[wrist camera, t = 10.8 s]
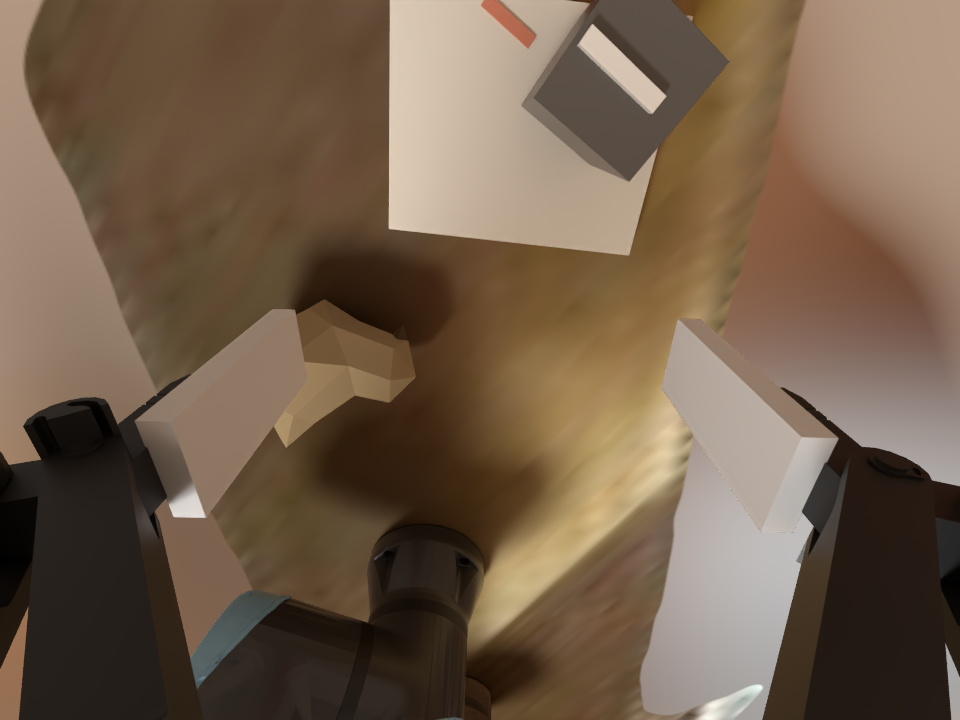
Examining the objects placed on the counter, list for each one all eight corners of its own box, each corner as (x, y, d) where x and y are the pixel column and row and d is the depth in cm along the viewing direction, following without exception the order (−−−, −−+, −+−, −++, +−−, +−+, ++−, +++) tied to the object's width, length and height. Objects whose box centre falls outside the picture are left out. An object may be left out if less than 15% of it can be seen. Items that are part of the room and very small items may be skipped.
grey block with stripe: (653, 81, 31) (735, 60, 20) (589, 164, 33) (632, 183, 23) (583, 12, 29) (633, -49, 19) (520, 105, 32) (534, 97, 21)
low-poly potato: (265, 367, 45) (326, 459, 44) (185, 359, 35) (263, 481, 33) (380, 280, 45) (446, 371, 44) (336, 245, 34) (421, 364, 33)
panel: (622, 249, 38) (647, 273, 32) (393, 223, 38) (374, 243, 32) (681, 22, 31) (729, -3, 25) (396, -14, 30) (371, -49, 24)
